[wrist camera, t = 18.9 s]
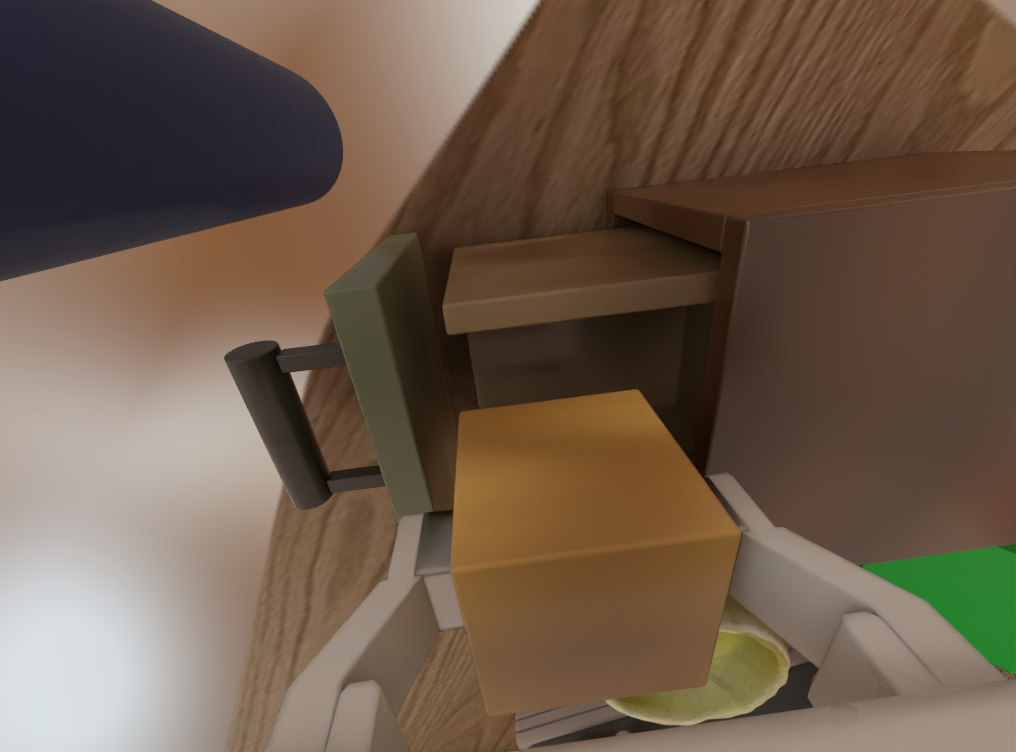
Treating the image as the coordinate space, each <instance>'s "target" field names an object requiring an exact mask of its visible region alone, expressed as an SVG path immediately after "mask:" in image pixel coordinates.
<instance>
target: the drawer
mask: <svg viewBox="0 0 1016 752" xmlns="http://www.w3.org/2000/svg"><path fill="white" fill-rule="evenodd" d="M721 253H722V252H718V251H715V250H713V249H710V248H707V247H704V246H702V245H699V244H696V243H693V242H691V241H688V240H685V239H682V238H680V237H677V236H674V235H671V234H669V233H666V232H663V231H660V230H657V229H655V228H652V227H649V226H646V225H641V226H633V227H624V228H616V229H608V230H599V231H591V232H583V233H575V234H566V235H558V236H550V237H541V238H533V239H525V240H516V241H508V242H500V243H491V244H483V245H475V246H467V247H458V248H454V251H453V257H452V262H451V267H450V272H449V276H448V281H447V286H446V291H445V295H444V300H443V305H442V311H443V317H444V322H445V327H446V332H447V334H448V335H456V334H464V333H466V336H467V342H468V348H469V354H470V360H471V367H472V373H473V379H474V385H475V391H476V398H477V404H478V409H485V408H493V407H501V406H508V405H516V404H524V403H532V402H540V401H548V400H556V399H563V398H571V397H579V396H587V395H595V394H603V393H610V392H618V391H626V390H634V389H637V390H639V391H640V392H641V394H642V395H643V396H644V398H645V399H646V401H647V402H648V403H649V405H650V406H651V407H652V409H653V410H654V412H655V413H656V414H657V416H658V417H659V418H660V420H661V421H662V423H663V424H664V425H665V427H666V428H667V429H668V431H669V432H670V434H671V435H672V436H673V438H674V439H675V440H676V442H677V443H678V445H679V446H680V447H681V449H682V450H683V451H684V453H685V454H686V456H687V457H688V458H689V460H690V461H691V462H693V455H694V448H695V441H696V433H697V426H698V419H699V412H700V405H701V397H702V390H703V383H704V376H705V369H706V361H707V354H708V347H709V340H710V332H711V325H712V318H713V311H714V304H715V296H716V289H717V282H718V275H719V268H720V260H721ZM324 295H325V298H326V301H327V305H328V308H329V311H330V314H331V317H332V320H333V323H334V326H335V330H336V333H337V336H338V339H339V343H330V344H322V345H314V346H307V347H298V348H291V349H284V350H282V351H281V349H280V347H279V344H278V343H277V342H275V341H259V342H254V343H250V344H246V345H244V346H241V347H238V348H236V349H234V350H232V351H231V352H229V353H227V354H226V355H225V358H224V359H225V362H226V364H227V366H228V368H229V370H230V372H231V374H232V376H233V378H234V381H235V383H236V385H237V387H238V389H239V391H240V393H241V395H242V397H243V399H244V402H245V404H246V406H247V408H248V410H249V412H250V414H251V416H252V418H253V421H254V423H255V425H256V427H257V429H258V431H259V433H260V435H261V438H262V440H263V442H264V444H265V446H266V448H267V450H268V452H269V454H270V456H271V458H272V461H273V463H274V465H275V467H276V469H277V471H278V473H279V475H280V478H281V480H282V482H283V484H284V486H285V488H286V490H287V492H288V495H289V497H290V499H291V501H292V503H293V505H294V506H295V507H296V508H298V509H302V510H306V509H312V508H315V507H317V506H320V505H322V504H323V503H325V502H326V501H327V500H328V499H330V497H331V496H332V495H333V493H337V492H344V491H352V490H359V489H367V488H375V487H382V486H386V489H387V492H388V495H389V498H390V501H391V504H392V507H393V510H394V513H395V517H396V520H397V523H398V526H399V521H400V520H401V518H402V516H403V515H411V514H420V513H425V512H434V511H444V510H453V509H454V493H455V476H456V458H457V441H458V435H457V430H456V425H455V420H454V415H453V410H452V405H451V399H450V394H449V389H448V384H447V379H446V374H445V369H444V364H443V359H442V354H441V349H440V344H439V339H438V333H437V328H436V323H435V318H434V313H433V308H432V303H431V298H430V293H429V288H428V283H427V278H426V272H425V267H424V262H423V257H422V252H421V247H420V242H419V237H418V234H417V233H407V234H399V235H391V236H388V237H386V238H385V239H384V240H383V241H382V242H381V243H380V244H378V245H377V246H376V247H375V248H374V249H373V250H372V251H370V252H369V253H368V254H367V255H366V256H365V257H364V258H362V259H361V260H360V261H359V262H358V263H357V264H355V265H354V266H353V267H352V268H351V269H350V270H349V271H347V272H346V273H345V274H344V275H343V276H342V277H341V278H339V279H338V280H337V281H336V282H335V283H334V284H332V285H331V286H330V287H329V288H328V289H327V290H326V291H325V292H324ZM344 365H347V367H348V370H349V373H350V376H351V379H352V383H353V386H354V389H355V392H356V395H357V398H358V401H359V404H360V407H361V411H362V414H363V417H364V420H365V423H366V426H367V429H368V432H369V436H370V439H371V442H372V445H373V448H374V451H375V454H376V457H377V460H378V464H379V465H377V466H369V467H361V468H354V469H346V470H338V471H332V472H331V473H330V472H329V470H328V467H327V465H326V462H325V460H324V457H323V455H322V452H321V450H320V447H319V445H318V442H317V440H316V437H315V435H314V432H313V430H312V427H311V425H310V422H309V419H308V417H307V414H306V412H305V409H304V407H303V404H302V402H301V399H300V397H299V394H298V392H297V389H296V387H295V384H294V382H293V379H292V377H291V374H290V372H296V371H304V370H312V369H320V368H328V367H336V366H344Z"/></svg>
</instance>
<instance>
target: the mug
mask: <svg viewBox="0 0 1016 752" xmlns="http://www.w3.org/2000/svg"><path fill="white" fill-rule="evenodd" d="M789 668H790V655H789V651H788V648H787V645H786V643H785V641H784V639H782V638H781V637H780V636H779V635H777V634H776V633H775V632H774V631H773V630H771V629H770V628H769V627H768V626H767V625H765V624H764V623H763V622H762V621H760V620H759V619H758V618H757V617H756V616H754V615H753V614H752V613H751V612H749V611H748V610H747V609H746V608H745V607H743V606H742V605H741V604H740V603H738V602H737V601H736V600H735V599H734V598H732V597H731V596H730V595H729V592H728V595H727V599H726V603H725V607H724V612H723V616H722V620H721V625H720V629H719V633H718V637H717V642H716V646H715V650H714V654H713V659H712V663H711V667H710V672H709V676H708V680H707V684H706V685H705V686H703V687H696V688H689V689H682V690H675V691H668V692H661V693H654V694H647V695H640V696H633V697H625V698H618V699H611V700H605V701H606V702H607V704H608V705H610V706H611V707H613V708H614V709H616V710H617V711H619V712H621V713H623V714H626V715H628V716H631V717H634V718H637V719H640V720H644V721H649V722H654V723H658V724H663V725H682V726H689V725H695V724H697V723H700V722H702V721H704V720H707V719H721V718H731V717H734V716H737V715H740V714H746V713H749V712H751V711H753V710H754V709H755V708H756V707H758V706H760V705H762V704H763V703H764V702H765V701H766V700H767V699H769V698H771V697H773V696H774V695H776V693H777V691H778V689H779V688H780V687H781V686H783V685H785V684H786V682H787V679H788V670H789Z"/></svg>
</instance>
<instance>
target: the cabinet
mask: <svg viewBox="0 0 1016 752" xmlns="http://www.w3.org/2000/svg"><path fill="white" fill-rule="evenodd" d="M641 225H646V226H649V227H652V228H655V229H657V230H660V231H663V232H666V233H669V234H671V235H674V236H677V237H680V238H682V239H685V240H688V241H691V242H693V243H696V244H699V245H702V246H704V247H707V248H710V249H713V250H715V251H718V252H722V253H721V260H720V268H719V275H718V282H717V289H716V296H715V304H714V311H713V318H712V325H711V332H710V340H709V347H708V354H707V361H706V369H705V376H704V383H703V390H702V397H701V405H700V412H699V419H698V426H697V433H696V441H695V448H694V455H693V462H692V464H693V465H694V467H695V468H696V469H697V471H698V472H699V473H700V475H701V476H706V475H713V474H720V473H729V474H730V475H732V476H733V477H734V479H735V480H736V481H737V482H738V483H739V484H740V486H741V487H742V488H743V489H744V490H745V492H746V493H747V494H748V495H749V496H750V497H751V499H752V500H753V501H754V502H755V503H756V505H757V506H758V507H759V508H760V509H761V511H762V512H763V513H764V514H765V515H766V516H767V518H768V519H769V520H770V521H771V522H772V524H773V525H774V526H775V527H784V528H786V529H788V530H790V531H792V532H794V533H796V534H798V535H800V536H802V537H804V538H805V539H807V540H809V541H811V542H813V543H815V544H817V545H819V546H821V547H823V548H825V549H827V550H829V551H831V552H833V553H834V554H836V555H838V556H840V557H842V558H844V559H846V560H848V561H850V562H852V563H854V564H856V565H858V566H860V565H867V564H875V563H882V562H889V561H896V560H904V559H911V558H918V557H925V556H932V555H940V554H947V553H954V552H961V551H968V550H976V549H983V548H990V547H997V546H1004V545H1012V544H1016V150H1008V151H963V152H930V153H922V154H913V155H905V156H896V157H888V158H879V159H871V160H862V161H854V162H846V163H837V164H829V165H820V166H812V167H803V168H795V169H786V170H778V171H770V172H761V173H753V174H744V175H736V176H727V177H719V178H710V179H702V180H694V181H685V182H677V183H668V184H660V185H651V186H643V187H634V188H626V189H617V190H609V191H608V192H607V230H608V229H616V228H624V227H633V226H641Z"/></svg>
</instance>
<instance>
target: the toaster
mask: <svg viewBox="0 0 1016 752" xmlns="http://www.w3.org/2000/svg"><path fill="white" fill-rule="evenodd" d="M784 641H785V640H784ZM785 643H786V645H787V648H788V651H789V655H790V668H789V670H788V679H787V682H786V684H785V685H783V686H781V687H780V688H779V689H778V691H777V693H776V695H774V696H773V697H771V698H769V699H767V700H766V701H765V702H764V703H763V704H762V705H760V706H758V707H756V708H755V709H754V710H753V711H751V712H749V713H746V714H740V715H737V716H734V717H731V718H721V719H707V720H704V721H702V722H700V723H697V724H703V723H710V722H716V721H723V720H730V719H737V718H744V717H751V716H758V715H765V714H772V713H779V712H786V711H793V710H800V709H807V708H814V707H813V705H812V704H811V702H810V700H809V699H808V693H809V690H810V687H811V685H812V683H813V680H814V678H815V676H816V674H817V672H818V669H819V668H818V667H817V666H815V665H814V664H813V663H812V662H810V661H809V660H808V659H807V658H806V657H804V656H803V655H802V654H801V653H799V652H798V651H797V650H796V649H795V648H793V647H792V646H791V645H790V644H788V643H787V642H786V641H785ZM515 721H516V722H515V733H516V742H517V746H518V747H519V748H520V749H521V750H522V749H529V748H536V747H542V746H549V745H556V744H563V743H570V742H577V741H584V740H591V739H598V738H605V737H612V736H619V735H626V734H633V733H640V732H647V731H654V730H661V729H668V728H675V727H682V725H663V724H658V723H654V722H649V721H644V720H640V719H637V718H634V717H631V716H628V715H626V714H623V713H621V712H619V711H617V710H616V709H614V708H613V707H611V706H610V705H608V704H607V702H606V701H605V700H604V701H597V702H590V703H583V704H576V705H569V706H562V707H555V708H548V709H540V710H533V711H526V712H519V713H516V717H515ZM695 725H696V724H695Z"/></svg>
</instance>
